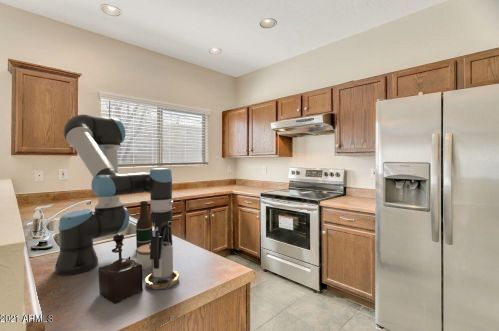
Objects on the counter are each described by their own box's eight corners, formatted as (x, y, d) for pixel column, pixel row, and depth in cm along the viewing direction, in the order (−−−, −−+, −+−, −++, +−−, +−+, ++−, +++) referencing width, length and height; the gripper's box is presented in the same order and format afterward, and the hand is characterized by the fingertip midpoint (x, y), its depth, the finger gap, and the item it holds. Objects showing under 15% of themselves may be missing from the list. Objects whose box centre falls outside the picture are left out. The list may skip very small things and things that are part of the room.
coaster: (139, 289, 92) (139, 284, 92) (154, 274, 103) (154, 269, 103) (172, 290, 91) (171, 285, 91) (182, 275, 103) (182, 270, 102)
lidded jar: (168, 265, 112) (168, 243, 112) (144, 273, 104) (143, 250, 104) (156, 258, 119) (156, 238, 119) (132, 265, 112) (132, 244, 111)
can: (177, 274, 98) (176, 243, 97) (159, 282, 92) (159, 248, 91) (165, 269, 102) (164, 239, 102) (147, 276, 96) (147, 244, 96)
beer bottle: (147, 245, 137) (146, 199, 136) (156, 248, 133) (155, 201, 132) (133, 249, 131) (132, 201, 130) (141, 252, 126) (141, 203, 125)
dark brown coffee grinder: (145, 290, 92) (144, 239, 91) (113, 304, 83) (112, 248, 82) (122, 277, 101) (121, 231, 100) (91, 289, 92) (90, 239, 91)
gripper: (159, 216, 86) (160, 285, 87) (180, 205, 106) (181, 260, 107) (137, 216, 86) (139, 284, 87) (162, 204, 107) (163, 259, 107)
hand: (162, 271), depth 97 cm, fingers closed on can, 7 cm apart
